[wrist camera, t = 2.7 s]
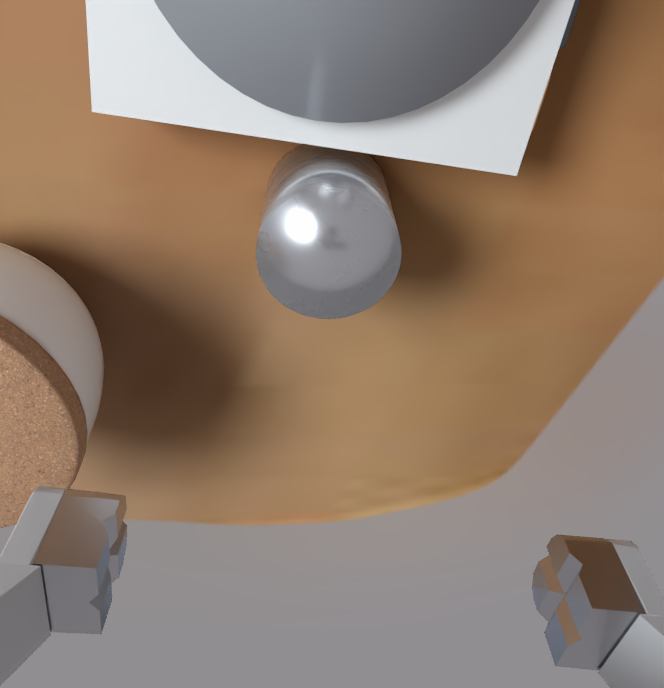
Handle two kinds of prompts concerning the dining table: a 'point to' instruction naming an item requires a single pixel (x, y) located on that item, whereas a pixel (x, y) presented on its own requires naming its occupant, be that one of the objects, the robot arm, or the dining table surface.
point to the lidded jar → (43, 380)
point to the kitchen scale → (336, 71)
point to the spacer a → (327, 233)
